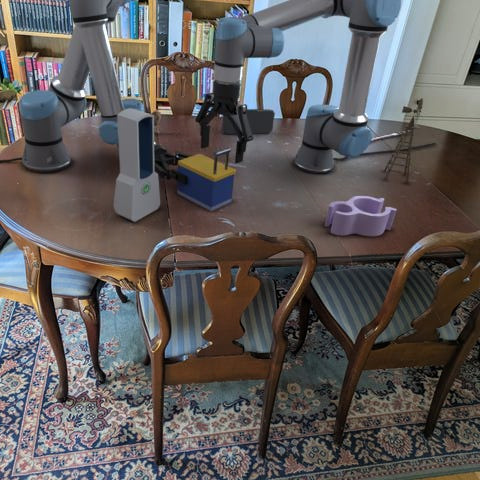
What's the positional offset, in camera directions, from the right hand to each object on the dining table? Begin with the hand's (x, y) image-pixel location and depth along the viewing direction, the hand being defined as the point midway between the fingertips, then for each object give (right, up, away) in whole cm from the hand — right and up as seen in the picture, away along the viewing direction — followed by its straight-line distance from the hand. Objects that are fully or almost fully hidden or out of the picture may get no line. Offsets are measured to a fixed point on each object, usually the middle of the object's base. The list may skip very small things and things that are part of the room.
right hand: (221, 154), depth 138 cm
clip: (+41, -21, +5) cm, 47 cm away
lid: (-5, -3, +6) cm, 9 cm away
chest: (-6, -12, +12) cm, 18 cm away
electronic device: (-25, -17, +1) cm, 30 cm away
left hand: (-8, -5, +10) cm, 14 cm away
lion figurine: (-34, +19, +55) cm, 67 cm away
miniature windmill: (+65, -1, +40) cm, 76 cm away
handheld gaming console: (+9, +21, +66) cm, 70 cm away
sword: (+74, +22, +77) cm, 109 cm away
